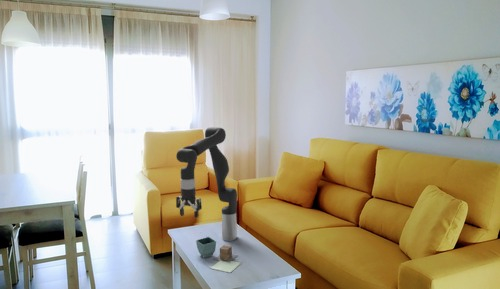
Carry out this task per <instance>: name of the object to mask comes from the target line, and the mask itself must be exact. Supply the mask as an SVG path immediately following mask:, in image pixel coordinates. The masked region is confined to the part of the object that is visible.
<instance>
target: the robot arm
mask: <svg viewBox="0 0 500 289" xmlns="http://www.w3.org/2000/svg"><path fill="white" fill-rule="evenodd" d="M225 140H226V130H225V129H224V128H222V127H207V128H206V129H205V131H204V138H201V139H198V140H196V141H194V143H192V144H189V145H186V146H184V147H182V148H180V149H178V151H177V152H176V157H175V158H176V160H177V162H180V163H187V165H186V166H184V167H181V169H180V195H178V196H176V197H175V199H176V200H175V203H176V204H175V206H176V208H178V209H179V215H180V217H183V216H184V215H185V208H184V207H187V206H188V207H191V208H192V209H193V210H194V213H193V214H194V218H195V219H197V218H198V217H199V215H200V214H199V211H200V210H202V198H200V197H199V198H196V179H195V169H196V163H197V160H198V156H200V155H201V154H203V153H205V151H207V150H208V151H209V154H210V158H211V162H212V167H213V172H214V176H215V180H216V187H217V188H216V189H217V196H218V199H219V201H220V202H223V203H228V205H227V206H223V207H222V208H221V237H222V240H224V241H225V242H226V241H227V242H229V241H230V242H231V241H235V240H237V237H238V229H237V228H238V226H237V225H238V224H237V207H238V204H237V203H238V193H237V192H238V191H237V190H236V188H233V187H226V185H225V184H226V179H227V177H228V175H229V172H230V166H229V163H228V162H229V161H228V159H227V158H226V156H225V155H224V153H222V151H221V150H220V149H219V147H218V145H220V144H222V143H224V141H225Z"/></svg>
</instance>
